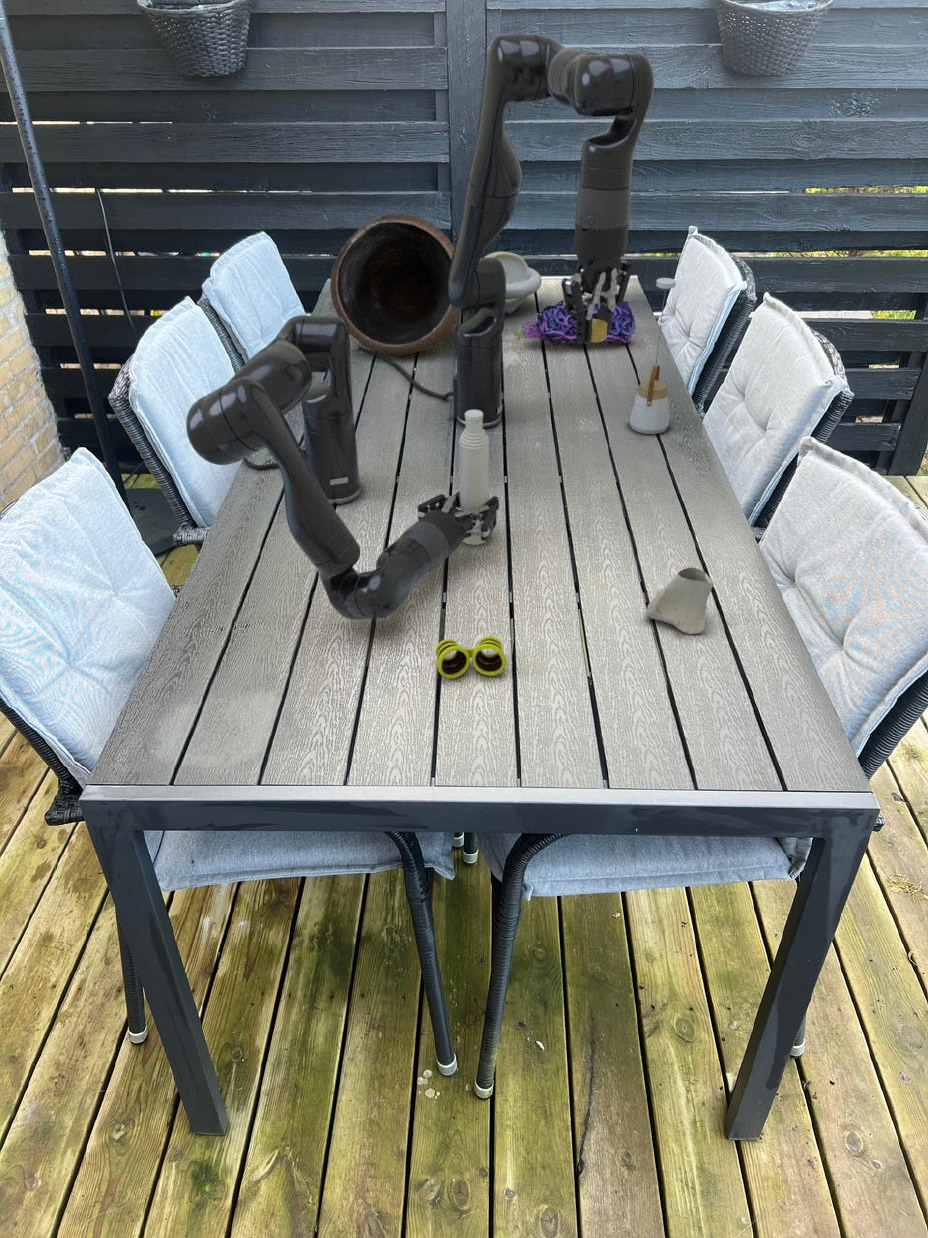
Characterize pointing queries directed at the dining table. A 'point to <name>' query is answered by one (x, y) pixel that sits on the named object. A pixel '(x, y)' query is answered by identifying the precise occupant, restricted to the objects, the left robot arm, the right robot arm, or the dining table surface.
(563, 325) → the decorative ornament
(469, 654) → the opera glasses
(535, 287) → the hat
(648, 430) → the pendant light
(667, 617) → the grey flared hollow piece
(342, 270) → the pot
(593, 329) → the cap
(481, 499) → the bottle
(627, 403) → the dining table surface
